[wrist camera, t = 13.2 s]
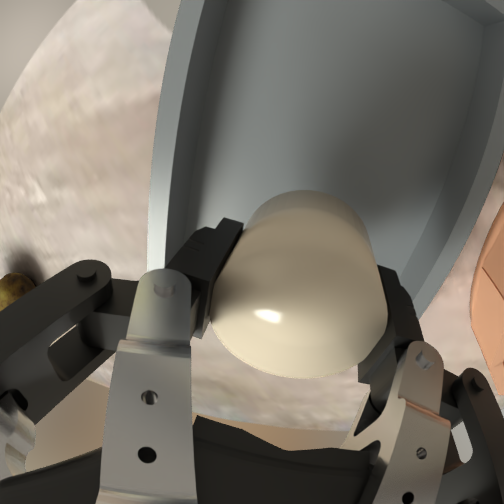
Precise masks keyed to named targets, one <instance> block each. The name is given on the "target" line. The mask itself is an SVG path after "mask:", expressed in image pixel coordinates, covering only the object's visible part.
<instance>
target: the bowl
mask: <svg viewBox="0 0 504 504" xmlns="http://www.w3.org/2000/svg"><path fill="white" fill-rule="evenodd" d="M470 318H471V327H472V330H473V332H474V334H475V336H476V339H477V341H478V343H479V346H480V348H481V351H482V353H483V356H484V358H485V361H486V363H487V366H488V369H489V371H490V374H491V376H492V379H493V381H494V384H495V386H496V389H497V391H498V394H499V395H504V203H503V204H502V206H501V208H500V210H499V212H498V214H497V216H496V218H495V220H494V222H493V224H492V226H491V228H490V231H489V233H488V235H487V237H486V240H485V242H484V245H483V248H482V251H481V253H480V256H479V259H478V262H477V266H476V269H475V273H474V277H473V282H472V287H471V295H470Z"/></svg>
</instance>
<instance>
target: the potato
mask: <svg viewBox="0 0 504 504" xmlns="http://www.w3.org/2000/svg"><path fill="white" fill-rule="evenodd" d="M34 288H36V287H35V285H34V283H33V281H32V280H30V279H29V278H28V277H27V276H25V275H24V274H21V273H9V274H7V275H5V276H4V277H3V278H2V279H1V280H0V311H1V310H3V309H4V308H6V307H7V306H9V305H10V304H12V303H13V302H14V301H16V300H17V299H19V298H20V297H22V296H23V295H25V294H26V293H28V292H29V291H31V290H32V289H34Z"/></svg>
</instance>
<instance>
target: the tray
mask: <svg viewBox="0 0 504 504" xmlns="http://www.w3.org/2000/svg"><path fill="white" fill-rule="evenodd" d="M503 152H504V0H181V3H180V7H179V10H178V14H177V18H176V22H175V26H174V30H173V34H172V38H171V43H170V47H169V52H168V57H167V62H166V67H165V72H164V77H163V83H162V89H161V95H160V101H159V108H158V115H157V122H156V130H155V138H154V147H153V156H152V167H151V179H150V193H149V211H148V238H147V272H149V271H151V270H154V269H162V268H165V267H166V266H167V264H168V263H169V262H170V261H171V259H172V258H173V257H174V256H175V254H176V253H177V252H178V251H179V250H180V248H181V247H183V245H184V243H185V242H186V241H187V240H188V239H189V237H190V236H191V235H192V234H193V233H194V231H196V230H198V229H201V228H203V227H205V226H207V227H210V228H214V229H215V228H216V227H217V225H218V224H219V223H220V221H221V220H222V219H223V218H224V217H225V218H229V219H232V220H236V221H239V222H242V223H244V227H243V230H244V228H245V226H246V224H247V222H248V220H249V219H250V217H251V216H252V214H253V213H254V212H255V211H256V210H257V209H258V208H259V207H260V206H261V205H262V204H263V203H265V202H266V201H268V200H269V199H271V198H273V197H275V196H277V195H279V194H282V193H286V192H289V191H296V190H313V191H319V192H323V193H327V194H330V195H332V196H335V197H337V198H338V199H340V200H342V201H344V202H345V203H346V204H348V205H349V206H350V207H351V208H352V209H353V210H354V211H355V212H356V213H357V214H358V215H359V217H360V218H361V219H362V221H363V223H364V225H365V227H366V230H367V232H368V235H369V239H370V242H371V245H372V249H373V252H374V256H375V260H376V263H377V265H381V266H384V267H387V268H390V269H393V270H395V271H396V272H397V275H398V278H399V281H400V284H401V286H403V287H404V288H405V289H406V291H407V292H408V294H409V295H410V296H411V299H412V302H413V305H414V309H415V311H416V314H417V315H416V317H417V318H418V320H419V319H420V317H421V316H422V315H423V313H424V312H425V310H426V309H427V307H428V306H429V304H430V303H431V301H432V300H433V298H434V296H435V295H436V293H437V292H438V290H439V289H440V287H441V285H442V284H443V282H444V280H445V279H446V277H447V275H448V274H449V272H450V270H451V269H452V267H453V265H454V263H455V262H456V260H457V258H458V256H459V254H460V252H461V251H462V249H463V247H464V245H465V243H466V241H467V239H468V237H469V235H470V233H471V231H472V229H473V227H474V225H475V223H476V221H477V218H478V216H479V214H480V212H481V210H482V207H483V205H484V203H485V200H486V198H487V196H488V193H489V191H490V188H491V186H492V183H493V180H494V178H495V175H496V172H497V170H498V167H499V164H500V161H501V158H502V155H503Z"/></svg>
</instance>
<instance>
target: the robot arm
mask: <svg viewBox="0 0 504 504" xmlns="http://www.w3.org/2000/svg"><path fill="white" fill-rule="evenodd" d="M243 227H244V223H242V222H239V221H236V220H232V219H229V218H225V217H224V218H223V219H222V220H221V221H220V223H219V224H218V225H217V227H216V228H215V229H214V228H210V227H207V226H205V227H203V228H201V229H198V230H196V231H194V233H193V234H192V235H191V236H190V237H189V239H188V240H187V241H186V242H185V243H184V245H183V247H181V248H180V250H179V251H178V252H177V253H176V254H175V256H174V257H173V258H172V259H171V261H170V262H169V263H168V264H167V266H166V267H165V268H162V269H154V270H151V271H149V272H147V273H145V274H144V275H143V276H142V277H141V278H140V280H139V281H130V280H121V279H113V278H112V277H111V271H110V268H109V267H108V266H107V265H106V264H105V263H103V262H101V261H97V260H83V261H79V262H76V263H74V264H72V265H71V266H69V267H67V268H66V269H64V270H63V271H61V272H59V273H58V274H56V275H54V276H53V277H51V278H50V279H48V280H46V281H45V282H43V283H42V284H40V285H39V286H37V287H36V288H34V289H32V290H31V291H29V292H28V293H26V294H25V295H23V296H22V297H20V298H19V299H17V300H16V301H14V302H13V303H12V304H10V305H9V306H7V307H6V308H4V309H3V310H1V311H0V504H504V418H503V415H502V413H501V410H500V408H499V405H498V403H497V401H496V399H495V396H494V394H493V392H492V390H491V388H490V386H489V383H488V381H487V380H486V378H485V377H484V375H483V374H482V373H481V372H479V371H478V370H476V369H474V368H467V369H465V370H464V371H463V373H462V374H461V375H460V376H459V377H458V376H456V375H455V374H453V373H451V372H449V371H447V370H445V369H444V363H443V360H442V357H441V355H440V354H439V352H438V351H437V350H436V349H435V348H434V347H433V346H431V345H430V344H428V343H426V342H424V338H423V335H422V331H421V328H420V324H419V321H418V318H417V317H416V315H417V314H416V311H415V309H414V305H413V302H412V299H411V296H410V295H409V294H408V292H407V291H406V289H405V288H404V287H403V286H401V284H400V281H399V278H398V275H397V272H396V271H395V270H393V269H390V268H387V267H384V266H381V265H377V267H378V271H379V275H380V279H381V283H382V287H383V291H384V295H385V299H386V304H387V312H388V318H387V325H386V329H385V333H384V334H383V336H382V337H381V338H380V340H379V341H378V342H377V344H376V345H375V347H374V348H373V349H372V351H371V352H370V353H369V354H368V356H367V357H366V358H365V359H364V360H363V361H361V362H360V363H358V382H360V383H365V384H370V390H369V391H368V392H367V393H366V395H365V396H364V398H363V400H362V403H361V405H360V408H359V410H358V412H357V415H356V417H355V420H354V422H353V424H352V426H351V429H350V431H349V433H348V436H347V438H346V439H345V441H344V443H343V444H342V445H341V447H340V448H323V449H311V450H297V451H287V450H283V449H281V448H278V447H276V446H274V445H272V444H270V443H268V442H266V441H264V440H262V439H260V438H258V437H256V436H254V435H252V434H250V433H248V432H246V431H244V430H243V429H239V428H236V427H232V426H229V425H226V424H222V423H219V422H216V421H213V420H209V419H207V418H204V417H200V416H198V415H197V417H196V419H195V422H194V424H193V425H192V398H191V346H190V340H191V338H192V336H194V337H197V338H199V339H202V337H203V334H204V332H205V330H206V328H207V326H208V324H209V322H210V317H209V312H210V306H211V300H212V294H213V288H214V284H215V282H216V280H217V278H218V276H219V274H220V272H221V270H222V268H223V267H224V265H225V263H226V261H227V259H228V257H229V255H230V254H231V252H232V250H233V248H234V246H235V244H236V242H237V241H238V239H239V237H240V235H241V233H242V231H243ZM75 324H76V327H74V328H73V329H72V330H70V331H69V332H68V333H66V334H65V335H64V336H63V337H61V338H60V339H59V340H58V341H56V342H55V343H54V344H52V342H53V341H55V340H56V339H57V338H58V337H60V336H61V335H62V334H64V333H65V332H66V331H68V330H69V329H70V328H71V327H73V326H74V325H75ZM51 344H52V345H51ZM50 345H51V346H50ZM49 346H50V347H49ZM115 352H116V356H115V361H114V367H113V372H112V378H111V384H110V390H109V396H108V403H107V410H106V419H105V426H104V437H103V446H102V447H100V448H98V449H95V450H93V451H90V452H87V453H85V454H82V455H79V456H76V457H74V458H71V459H68V460H65V461H62V462H59V463H56V464H53V465H50V466H47V467H44V468H40V469H37V470H34V471H30V472H26V469H25V460H26V456H27V454H28V452H29V451H30V450H32V449H33V448H34V446H35V438H36V430H35V424H37V423H38V422H39V421H40V420H41V419H42V418H43V417H44V416H45V415H46V414H48V412H50V411H51V410H52V409H53V408H54V407H55V406H56V405H57V404H58V403H60V401H62V400H63V399H64V398H65V397H66V396H67V395H68V394H69V393H70V392H72V391H73V390H74V389H75V388H76V387H77V386H78V385H79V384H80V383H81V382H83V381H84V380H85V379H86V378H87V377H88V376H89V375H90V374H91V373H93V372H94V371H95V370H96V369H97V368H98V367H99V366H100V365H101V364H103V363H104V362H105V361H106V360H107V359H108V358H109V357H110V356H112V355H113V354H114V353H115ZM462 421H463V422H464V424H465V427H466V430H467V433H468V436H469V439H470V441H471V444H472V448H473V454H472V457H471V459H470V460H469V461H468V462H467V463H463V462H461V460H460V458H459V454H458V451H457V448H456V445H455V442H454V439H453V436H452V432H451V429H453V428H454V427H456V426H457V425H458V424H460V423H461V422H462Z"/></svg>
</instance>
